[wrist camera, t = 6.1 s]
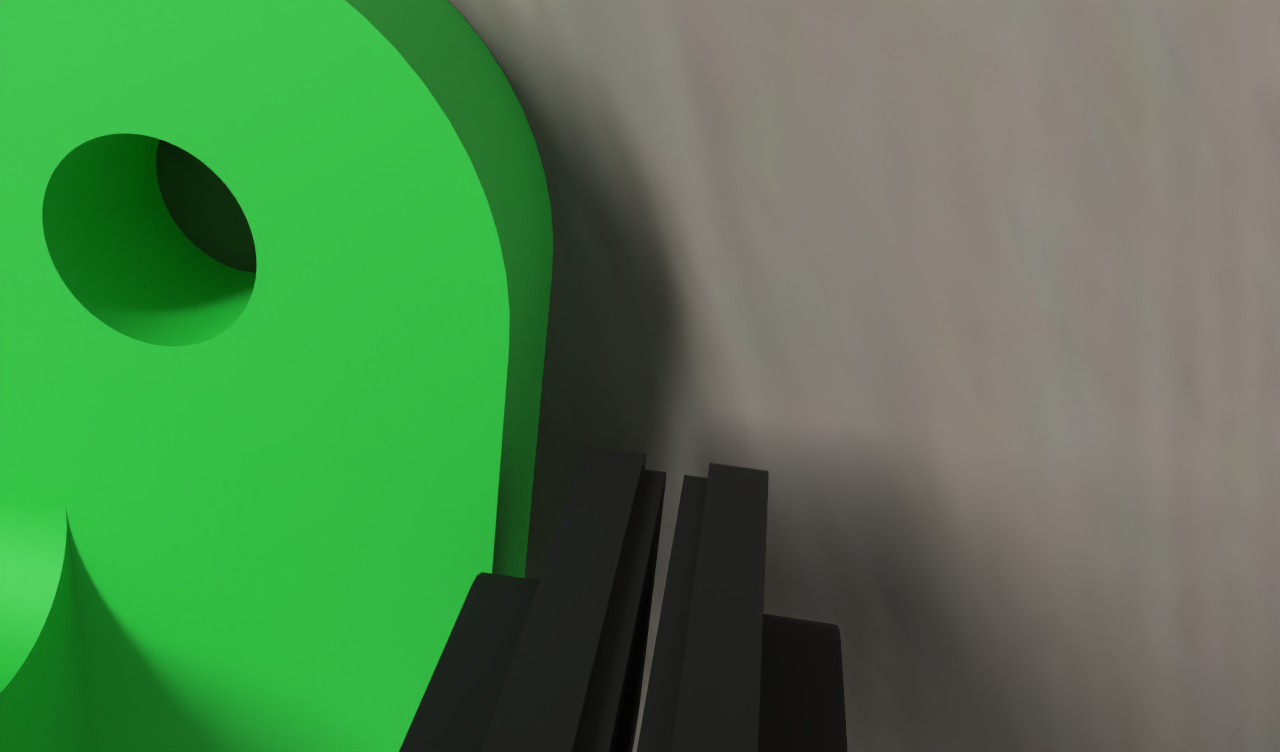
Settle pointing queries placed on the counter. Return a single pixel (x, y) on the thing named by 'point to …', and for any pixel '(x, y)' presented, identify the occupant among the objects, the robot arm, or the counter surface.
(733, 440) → the counter surface
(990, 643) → the counter surface
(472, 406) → the mechanical part
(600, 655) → the robot arm
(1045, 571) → the counter surface
